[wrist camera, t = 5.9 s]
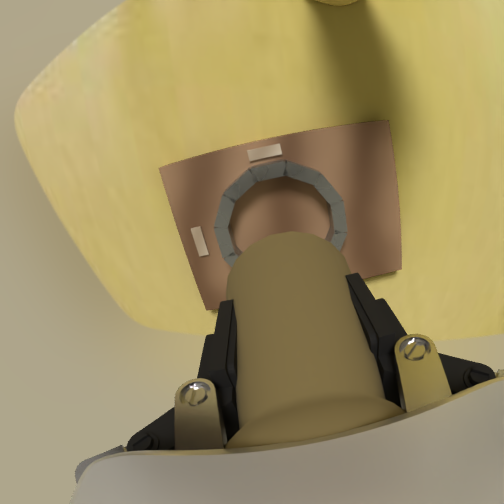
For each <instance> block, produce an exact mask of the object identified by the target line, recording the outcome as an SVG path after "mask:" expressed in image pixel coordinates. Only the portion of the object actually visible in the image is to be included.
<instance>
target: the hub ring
mask: <svg viewBox="0 0 504 504" xmlns="http://www.w3.org/2000/svg"><path fill="white" fill-rule="evenodd" d="M282 176H288V177H291V178H294V179H297V180H300V181H303V182H306V183H309V184H312V185H313V186H314V187H315V188H316V189H317V191H318V192H319V193H320V194H321V195H322V196H323V198H324V199H325V200H326V202H327V208H328V214H329V221H330V227H329V230H328V232H327V235H326V237H325V240H326V241H328V242H331V243H332V244H333V245H334V246H335V247H336V248H337V249H338V250H339V251H340V250H341V248H342V245H343V243H344V240H345V238H346V236H347V233H346V232H348V231H347V223H346V215H345V208H344V201H343V200H342V197H341V196H340V195H339V194H338V192H337V191H336V190H335V189H334V188H333V186H332V185H331V184H330V183H329V182H328V180H327V179H326V178H325V177H324V176H323V174H322V173H320V172H319V171H317V170H316V169H313V168H310V167H307V166H304V165H301V164H298V163H295V162H292V161H289V160H286V159H285V161H284V160H283V159H281V160H277V161H272V162H267V163H263V164H258V165H254V166H251V169H250V168H248V169H247V170H245V171H244V172H243V173H242V174H241V175H240V176H239V177H238V178H237V179H236V180H235V181H234V182H233V183H232V184H230V185H229V186H228V187H227V188H226V189H225V191H224V193H223V195H222V198H221V201H220V205H219V209H218V212H217V216H216V220H215V224H214V231H215V234H216V238H217V241H218V245H219V248H220V251H221V254H222V258H224V261H226V262H227V263H228V264H229V265H230V266H231V267H233V264H234V262H235V260H236V259H237V258H238V257H239V256H240V255H241V254H242V253H243V252H242V251H241V250H240V249H239V248H238V247H237V246H236V243H235V240H234V236H233V232H232V229H231V225H230V218H231V215H232V211H233V208H234V204H235V201H236V200H237V199H239V198H240V197H241V196H242V195H243V194H244V193H245V192H246V191H247V190H248V189H249V188H250V187H252V186H253V185H254V184H255V183H256V182H259V181H263V180H268V179H272V178H277V177H282Z"/></svg>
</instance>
